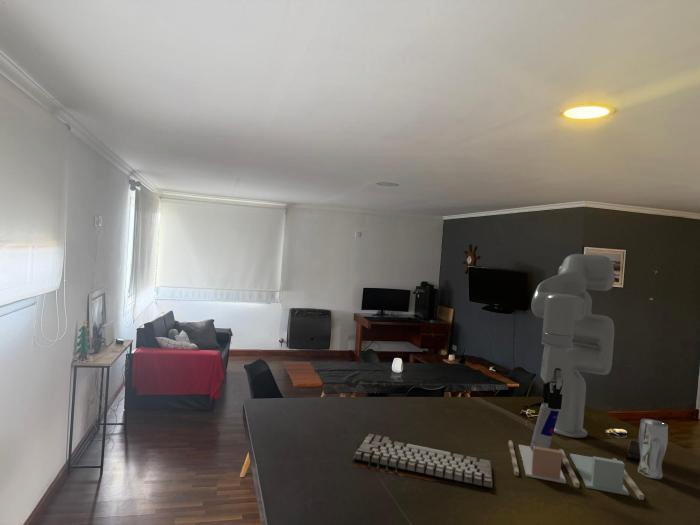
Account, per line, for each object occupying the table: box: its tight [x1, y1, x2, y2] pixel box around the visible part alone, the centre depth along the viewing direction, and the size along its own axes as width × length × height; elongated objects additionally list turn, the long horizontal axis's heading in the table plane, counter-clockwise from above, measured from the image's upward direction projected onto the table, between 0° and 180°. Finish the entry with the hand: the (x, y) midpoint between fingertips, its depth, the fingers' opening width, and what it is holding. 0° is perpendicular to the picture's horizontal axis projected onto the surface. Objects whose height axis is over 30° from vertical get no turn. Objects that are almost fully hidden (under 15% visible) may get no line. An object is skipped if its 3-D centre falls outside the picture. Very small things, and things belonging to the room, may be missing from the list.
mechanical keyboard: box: [351, 433, 494, 492], centre depth 128 cm, size 38×19×3 cm, turn 75°
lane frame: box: [508, 439, 645, 501], centre depth 133 cm, size 24×31×1 cm
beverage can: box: [530, 402, 559, 452], centre depth 140 cm, size 5×5×15 cm
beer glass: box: [637, 418, 669, 480], centre depth 134 cm, size 7×7×15 cm
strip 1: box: [518, 444, 567, 484], centre depth 135 cm, size 22×10×8 cm, turn 165°
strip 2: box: [569, 453, 630, 496], centre depth 131 cm, size 22×10×8 cm, turn 165°
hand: (551, 403), depth 126 cm, fingers open, 9 cm apart
